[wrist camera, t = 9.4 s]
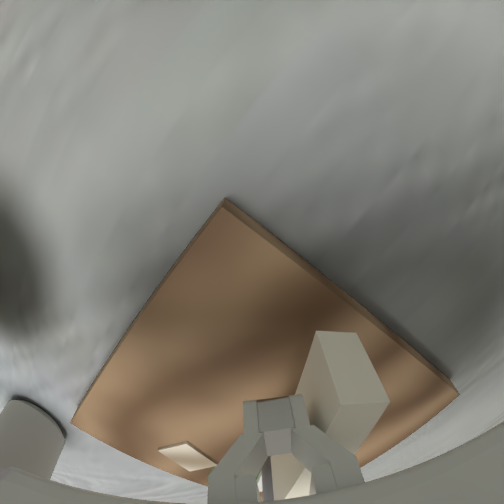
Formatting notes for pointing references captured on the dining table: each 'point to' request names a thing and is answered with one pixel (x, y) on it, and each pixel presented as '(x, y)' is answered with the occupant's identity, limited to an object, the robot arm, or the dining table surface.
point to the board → (240, 353)
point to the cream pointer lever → (329, 407)
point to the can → (29, 439)
